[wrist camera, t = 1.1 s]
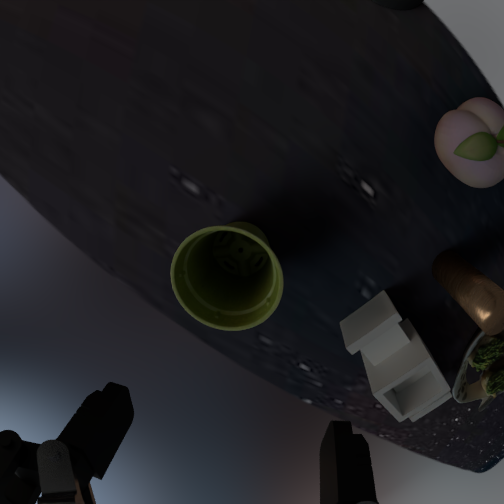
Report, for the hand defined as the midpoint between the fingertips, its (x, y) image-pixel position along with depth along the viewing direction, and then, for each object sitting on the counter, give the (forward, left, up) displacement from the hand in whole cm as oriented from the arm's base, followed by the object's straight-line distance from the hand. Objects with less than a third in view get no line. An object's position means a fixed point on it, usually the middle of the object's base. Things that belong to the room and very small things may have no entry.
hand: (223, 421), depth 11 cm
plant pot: (+3, -1, -24) cm, 24 cm away
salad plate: (-16, +37, -24) cm, 47 cm away
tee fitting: (-3, +22, -24) cm, 32 cm away
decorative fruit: (-23, +5, -24) cm, 34 cm away
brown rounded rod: (-14, +16, -24) cm, 32 cm away
